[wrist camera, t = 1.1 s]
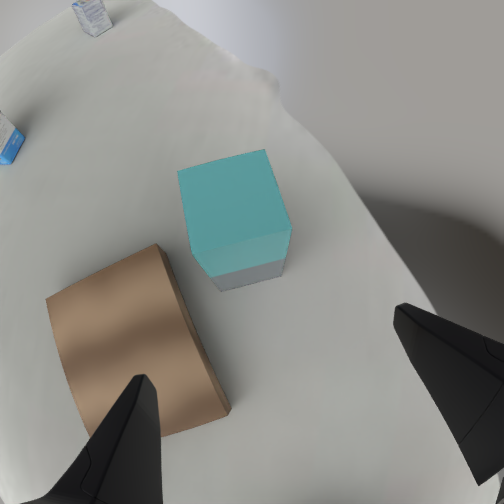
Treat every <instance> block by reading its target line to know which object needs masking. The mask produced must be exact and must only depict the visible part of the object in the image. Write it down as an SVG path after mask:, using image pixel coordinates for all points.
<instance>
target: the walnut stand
mask: <svg viewBox="0 0 504 504" xmlns="http://www.w3.org/2000/svg"><path fill="white" fill-rule="evenodd" d="M46 303H47V308H48V313H49V318H50V322H51V326H52V330H53V334H54V338H55V342H56V346H57V349H58V353H59V356H60V360H61V363H62V366H63V369H64V372H65V375H66V378H67V381H68V384H69V387H70V390H71V393H72V395H73V398H74V401H75V403H76V406H77V408H78V411H79V413H80V416H81V418H82V421H83V423H84V425H85V427H86V430H87V432H88V434H89V436H90V438H91V436H92V435H93V433H94V432H95V430H96V429H97V427H98V426H99V425H100V423H101V422H102V420H103V419H104V417H105V416H106V414H107V413H108V412H109V410H110V409H111V407H112V406H113V404H114V403H115V402H116V400H117V399H118V397H119V396H120V394H121V393H122V392H123V390H124V389H125V387H126V386H127V385H128V383H129V382H130V380H131V379H132V378H133V376H134V375H138V374H146V375H147V376H148V378H149V379H150V381H151V382H152V383H153V385H154V386H155V388H156V391H157V398H158V408H159V418H160V427H161V437H164V436H167V435H171V434H174V433H178V432H181V431H184V430H187V429H191V428H194V427H197V426H200V425H203V424H206V423H209V422H212V421H214V420H217V419H220V418H223V417H225V416H228V414H229V412H230V410H231V409H232V408H231V406H230V404H229V402H228V400H227V398H226V396H225V394H224V392H223V390H222V388H221V386H220V384H219V381H218V379H217V377H216V375H215V373H214V371H213V368H212V366H211V364H210V362H209V359H208V357H207V355H206V353H205V350H204V348H203V346H202V344H201V341H200V339H199V337H198V334H197V332H196V329H195V327H194V325H193V322H192V320H191V317H190V315H189V312H188V310H187V307H186V305H185V302H184V300H183V297H182V295H181V292H180V290H179V287H178V284H177V282H176V279H175V277H174V274H173V271H172V268H171V266H170V263H169V260H168V257H167V255H166V253H165V252H164V251H163V250H162V249H161V248H160V247H159V246H158V245H157V244H154V245H152V246H150V247H148V248H145V249H143V250H141V251H139V252H137V253H135V254H133V255H131V256H129V257H127V258H125V259H123V260H121V261H119V262H117V263H114V264H112V265H110V266H108V267H106V268H104V269H102V270H100V271H98V272H96V273H94V274H93V275H91V276H89V277H87V278H85V279H83V280H81V281H79V282H77V283H75V284H73V285H71V286H69V287H67V288H65V289H64V290H62V291H60V292H58V293H56V294H54V295H52V296H50V297H49V298H47V299H46Z"/></svg>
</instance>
